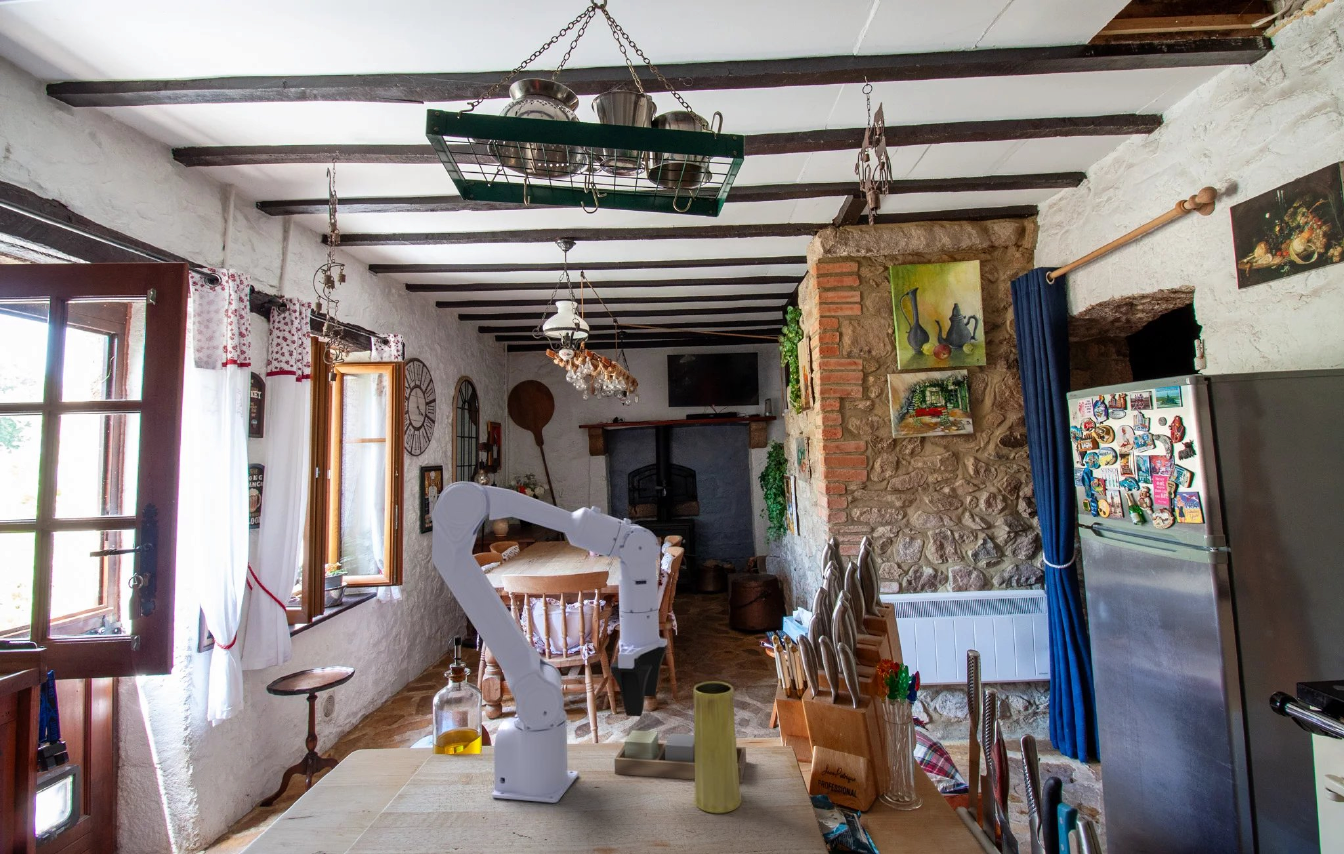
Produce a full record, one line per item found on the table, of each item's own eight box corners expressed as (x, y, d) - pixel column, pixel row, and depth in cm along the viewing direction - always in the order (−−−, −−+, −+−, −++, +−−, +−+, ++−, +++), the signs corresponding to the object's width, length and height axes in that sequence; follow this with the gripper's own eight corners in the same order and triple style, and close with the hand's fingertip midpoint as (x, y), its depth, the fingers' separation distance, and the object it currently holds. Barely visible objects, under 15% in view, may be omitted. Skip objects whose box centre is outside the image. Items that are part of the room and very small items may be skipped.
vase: (739, 815, 75) (734, 696, 76) (690, 812, 76) (686, 694, 77) (743, 791, 81) (738, 680, 82) (698, 788, 82) (694, 679, 83)
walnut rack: (614, 773, 87) (614, 744, 87) (627, 753, 93) (627, 726, 94) (741, 782, 83) (740, 752, 83) (746, 761, 89) (745, 733, 90)
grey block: (665, 773, 87) (664, 744, 87) (672, 761, 90) (671, 733, 91) (693, 775, 86) (692, 746, 86) (698, 763, 90) (697, 734, 90)
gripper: (652, 620, 81) (656, 726, 80) (676, 599, 95) (679, 688, 94) (602, 619, 83) (605, 723, 81) (632, 599, 97) (635, 687, 95)
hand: (641, 704), depth 88 cm, fingers open, 7 cm apart
